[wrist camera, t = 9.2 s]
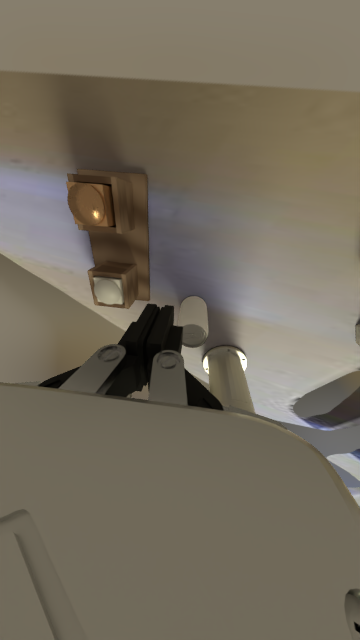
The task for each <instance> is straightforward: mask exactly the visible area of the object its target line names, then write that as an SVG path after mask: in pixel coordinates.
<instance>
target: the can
mask: <svg viewBox="0 0 360 640" xmlns="http://www.w3.org/2000/svg"><path fill="white" fill-rule="evenodd" d="M177 326H182V327H183V339H182V345H184V346H186V347H190V348H196V347H199V346H201V345H203V344H204V343H205V341H206V338H207V336H208V315H207V306H206V303H205V301H204V300H203V299H201V298H200V297H197V296H191V297H188V298H186V299H185V300H184V301H183V302H182V304H181V307H180V312H179V317H178V323H177Z"/></svg>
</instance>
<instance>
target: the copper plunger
mask: <svg viewBox="0 0 360 640" xmlns="http://www.w3.org/2000/svg"><path fill="white" fill-rule="evenodd" d="M66 184H67V188H68V205H69V208H70V210H71V212H72V214H73V216H74V220H75V224H83V225H89V226H92V225H95V226H106V227H109V226H114V225H116V221H115V212H114V202H113V193H112V187H110V186H106V185H101V184H88V183H76V182H66Z"/></svg>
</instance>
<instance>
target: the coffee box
mask: <svg viewBox="0 0 360 640" xmlns="http://www.w3.org/2000/svg"><path fill="white" fill-rule="evenodd" d="M356 343H357V344H358V345H360V324H358V325H356Z"/></svg>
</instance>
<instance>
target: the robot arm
mask: <svg viewBox="0 0 360 640" xmlns="http://www.w3.org/2000/svg"><path fill="white" fill-rule="evenodd" d="M173 323H174V306H168V305H165V307H162V308H161V310H160V307H157V305H156V304H147V306H146V307H145V309H144V310H143V312H142V314H141V315H140V317H139V319H138V320H137V322H132V323H131V325H130V326H129V328H128V329H127V331H126V332H125V334H124V335H123V337H122V338H121V340H120V341H119V343H118V344H111V345H107V346H104V347H102V348H100V349H99V350H97V351H96V352H95V353H94V354H93V355H92V356H91V357H90V358H89V359H88V360H87V361H86V362H85V363H84V364H83V365H82V366H80V367H77V368H75V369H72V370H70V371H67V372H65V373H63V374H60V375H57V376H55V377H52V378H50V379H48V380H46V381H44V382H42V383H41V382H40V381H39V382H25V383H3V382H0V640H360V508H359V506H358V504H357V503H356V501H355V499H354V498H353V496H352V495H351V493H350V492H349V490H348V488H347V487H346V485H345V484H344V482H343V481H342V479H341V477H340V476H339V475H338V474H337V472H336V470H335V469H334V468H333V466H332V465H331V464H330V463H329V461H328V460H327V459H326V458H325V457H324V456H323V455H322V454H321V453H320V452H319V451H318V450H317V449H316V448H315V447H314V446H312V445H311V444H310V443H308V442H307V441H305V440H304V439H302V438H301V437H299V436H297V435H296V434H294V433H292V432H290V431H288V430H287V428H286V427H284V426H283V425H282V424H281V423H279V422H277V421H275V420H272V419H269V418H266V417H263V416H261V415H258V414H255V410H254V407H253V403H252V399H251V396H250V392H249V388H248V385H247V381H246V377H245V374H244V370H245V368H246V366H247V359H246V357H245V354H244V353H243V352H242V351H241V350H239V349H237V348H235V347H231V346H219V347H216V348H213V349H211V350H210V351H208V352H207V353H206V354H205V356H204V358H203V367H204V370H205V371H206V372H207V373H208V374H209V389H210V392H209V391H208V390H207V389H206V388H205V387H204V386H203V385H202V384H201V383H200V382H199V381H198V380H197V379H196V378H194V377H193V376H192V375H191V374H190V373H189V372H188V371H187V370H186V369H185V368H184V360H183V357H182V355H181V349H182V339H183V327H182V326H173ZM147 383H148V389H149V397H148V400H143V399H135V398H131V397H132V393H133V392H135V391H142V388H143V385H145V386H146V385H147Z"/></svg>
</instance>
